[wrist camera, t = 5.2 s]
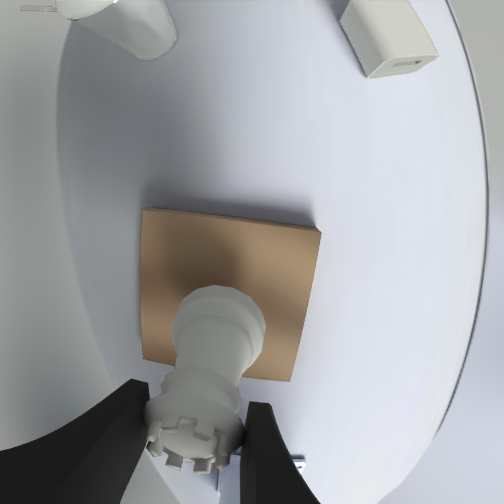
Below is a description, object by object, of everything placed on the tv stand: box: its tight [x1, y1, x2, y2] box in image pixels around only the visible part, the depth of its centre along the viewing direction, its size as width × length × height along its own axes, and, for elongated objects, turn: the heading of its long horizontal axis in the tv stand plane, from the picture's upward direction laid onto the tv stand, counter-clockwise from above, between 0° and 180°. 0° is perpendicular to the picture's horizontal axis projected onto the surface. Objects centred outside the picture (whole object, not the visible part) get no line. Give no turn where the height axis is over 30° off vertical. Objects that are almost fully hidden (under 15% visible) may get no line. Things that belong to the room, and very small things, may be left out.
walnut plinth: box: [140, 208, 321, 382], centre depth 18 cm, size 10×10×2 cm
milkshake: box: [20, 0, 177, 60], centre depth 10 cm, size 4×5×10 cm
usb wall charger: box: [340, 0, 439, 79], centre depth 12 cm, size 4×7×4 cm, turn 19°
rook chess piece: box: [142, 285, 266, 474], centre depth 10 cm, size 4×4×8 cm
